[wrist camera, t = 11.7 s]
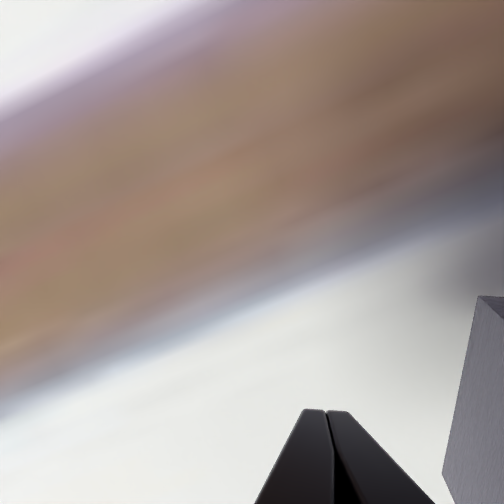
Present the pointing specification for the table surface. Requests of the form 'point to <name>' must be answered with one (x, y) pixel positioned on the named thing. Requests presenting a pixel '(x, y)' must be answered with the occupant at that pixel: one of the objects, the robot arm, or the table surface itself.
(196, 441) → the table surface
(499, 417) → the shaft
